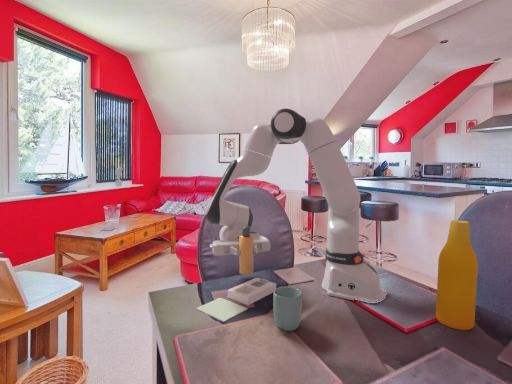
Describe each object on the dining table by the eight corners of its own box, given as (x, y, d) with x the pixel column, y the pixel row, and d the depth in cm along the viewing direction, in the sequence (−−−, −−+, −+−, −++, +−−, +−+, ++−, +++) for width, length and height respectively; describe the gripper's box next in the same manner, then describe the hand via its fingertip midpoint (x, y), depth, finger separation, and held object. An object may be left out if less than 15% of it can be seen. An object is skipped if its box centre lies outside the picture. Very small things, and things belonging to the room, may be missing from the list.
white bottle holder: (256, 286, 109) (256, 275, 109) (276, 293, 103) (276, 281, 103) (227, 300, 98) (227, 288, 97) (248, 308, 92) (248, 295, 92)
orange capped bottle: (255, 271, 97) (256, 227, 96) (246, 275, 94) (246, 229, 93) (245, 269, 100) (245, 225, 99) (236, 272, 97) (236, 227, 96)
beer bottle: (482, 332, 79) (488, 224, 77) (444, 329, 80) (449, 223, 78) (463, 315, 88) (468, 219, 86) (429, 313, 89) (434, 218, 87)
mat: (247, 312, 89) (247, 308, 89) (223, 325, 82) (223, 321, 82) (220, 301, 97) (220, 297, 97) (195, 312, 89) (195, 308, 89)
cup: (303, 322, 83) (304, 288, 83) (298, 337, 76) (299, 299, 75) (277, 318, 86) (277, 284, 85) (269, 332, 79) (269, 295, 78)
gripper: (208, 235, 106) (215, 244, 92) (262, 232, 112) (276, 240, 99) (208, 252, 106) (215, 264, 93) (262, 248, 112) (275, 258, 99)
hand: (247, 252), depth 96 cm, fingers closed on orange capped bottle, 4 cm apart
